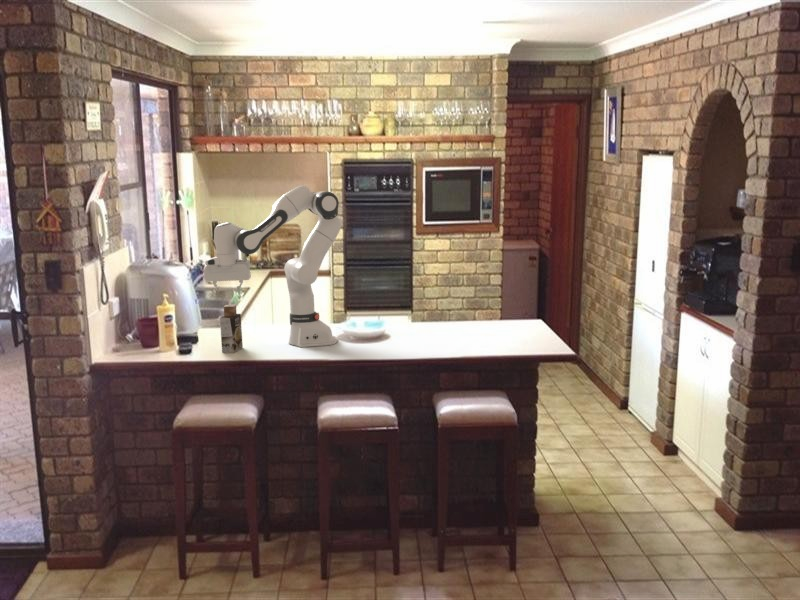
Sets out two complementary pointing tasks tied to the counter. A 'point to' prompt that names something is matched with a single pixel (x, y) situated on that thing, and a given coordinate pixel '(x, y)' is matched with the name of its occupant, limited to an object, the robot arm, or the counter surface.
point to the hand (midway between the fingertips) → (228, 290)
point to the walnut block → (229, 310)
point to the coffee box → (231, 333)
